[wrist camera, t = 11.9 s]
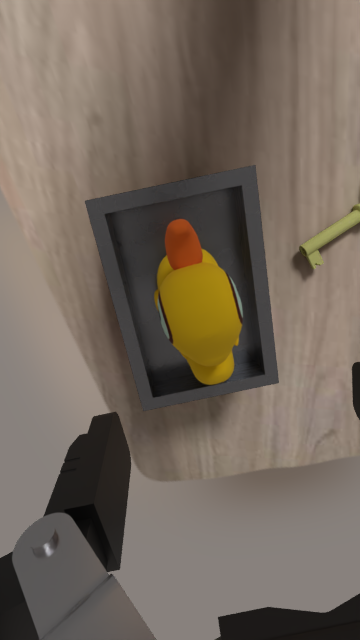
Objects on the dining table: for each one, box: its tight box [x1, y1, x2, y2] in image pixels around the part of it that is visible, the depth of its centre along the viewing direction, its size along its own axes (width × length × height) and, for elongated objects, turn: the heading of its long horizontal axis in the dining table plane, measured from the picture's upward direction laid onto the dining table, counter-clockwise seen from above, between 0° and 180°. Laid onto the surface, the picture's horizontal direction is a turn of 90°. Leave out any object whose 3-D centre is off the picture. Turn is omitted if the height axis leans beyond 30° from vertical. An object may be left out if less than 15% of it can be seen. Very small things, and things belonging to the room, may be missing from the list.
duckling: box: [154, 219, 243, 385], centre depth 21 cm, size 11×5×10 cm, turn 16°
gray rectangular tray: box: [85, 165, 279, 411], centre depth 27 cm, size 11×16×9 cm
